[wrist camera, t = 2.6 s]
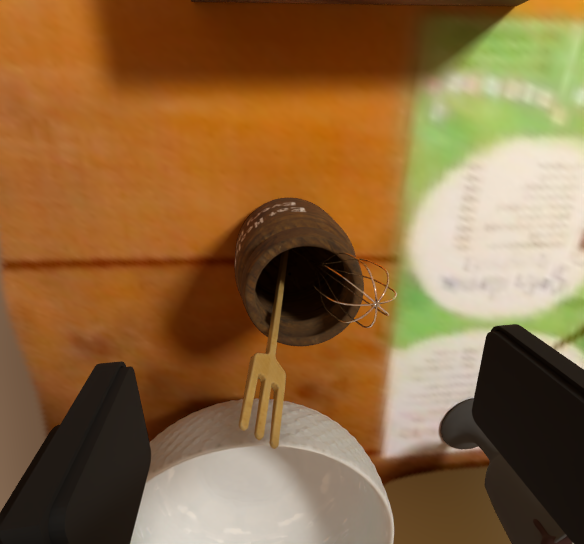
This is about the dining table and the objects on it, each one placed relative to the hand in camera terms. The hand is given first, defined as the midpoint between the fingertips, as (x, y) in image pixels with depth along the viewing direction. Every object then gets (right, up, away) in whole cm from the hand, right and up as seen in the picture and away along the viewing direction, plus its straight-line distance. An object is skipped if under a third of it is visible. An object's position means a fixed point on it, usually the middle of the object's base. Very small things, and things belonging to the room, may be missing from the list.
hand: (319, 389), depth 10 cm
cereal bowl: (-4, -11, +18) cm, 21 cm away
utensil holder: (-1, +5, +12) cm, 13 cm away
